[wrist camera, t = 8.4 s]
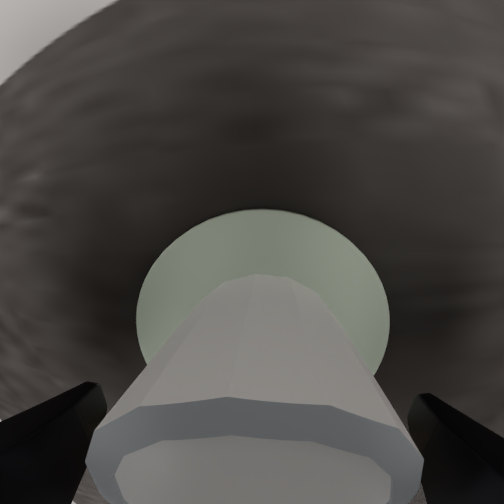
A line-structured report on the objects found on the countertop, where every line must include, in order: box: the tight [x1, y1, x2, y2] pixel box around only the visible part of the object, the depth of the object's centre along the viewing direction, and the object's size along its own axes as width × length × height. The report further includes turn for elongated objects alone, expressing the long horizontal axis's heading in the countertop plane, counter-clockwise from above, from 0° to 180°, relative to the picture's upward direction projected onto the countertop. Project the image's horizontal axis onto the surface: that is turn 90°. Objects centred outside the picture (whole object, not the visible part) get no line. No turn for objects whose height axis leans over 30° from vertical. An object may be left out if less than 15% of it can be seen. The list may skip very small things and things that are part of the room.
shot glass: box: [85, 274, 424, 504], centre depth 8 cm, size 7×7×7 cm
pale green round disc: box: [136, 208, 390, 376], centre depth 12 cm, size 10×10×1 cm
